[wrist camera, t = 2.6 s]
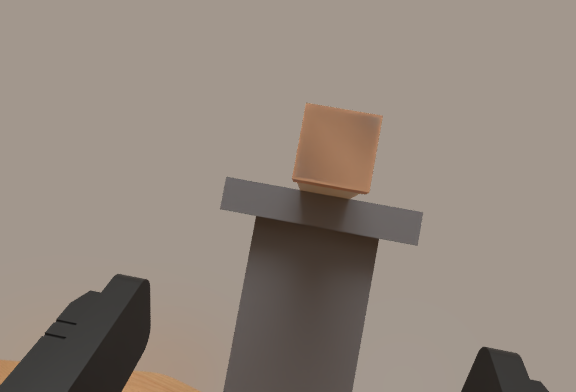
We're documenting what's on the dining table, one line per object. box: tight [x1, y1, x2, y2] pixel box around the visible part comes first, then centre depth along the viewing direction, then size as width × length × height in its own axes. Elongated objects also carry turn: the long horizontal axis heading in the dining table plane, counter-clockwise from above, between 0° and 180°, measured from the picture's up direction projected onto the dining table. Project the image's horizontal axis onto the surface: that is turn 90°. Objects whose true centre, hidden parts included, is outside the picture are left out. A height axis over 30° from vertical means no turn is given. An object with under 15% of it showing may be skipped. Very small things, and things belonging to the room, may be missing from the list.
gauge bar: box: [292, 103, 383, 199], centre depth 31 cm, size 24×3×3 cm, turn 177°
